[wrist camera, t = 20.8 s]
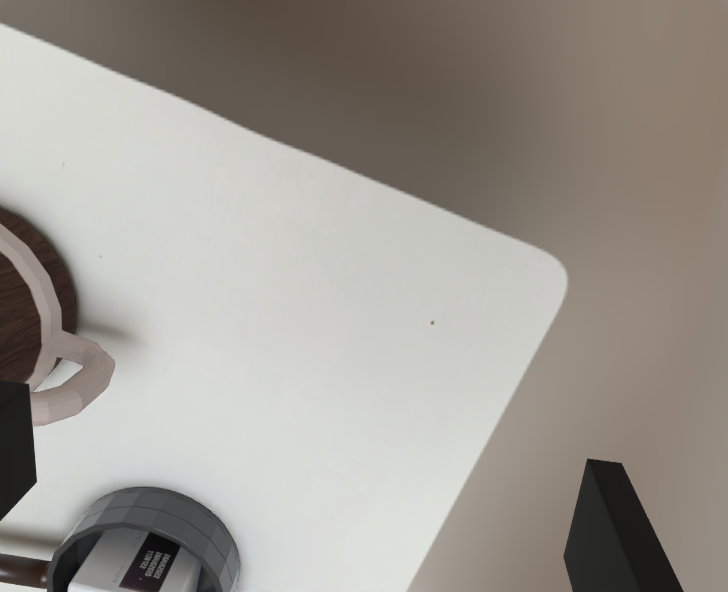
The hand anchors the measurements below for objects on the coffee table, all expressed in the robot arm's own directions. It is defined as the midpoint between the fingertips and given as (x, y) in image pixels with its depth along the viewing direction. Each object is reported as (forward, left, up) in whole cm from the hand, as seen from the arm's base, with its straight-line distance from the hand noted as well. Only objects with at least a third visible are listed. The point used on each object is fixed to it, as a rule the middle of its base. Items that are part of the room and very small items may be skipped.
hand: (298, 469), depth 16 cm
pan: (+14, +32, -31) cm, 46 cm away
